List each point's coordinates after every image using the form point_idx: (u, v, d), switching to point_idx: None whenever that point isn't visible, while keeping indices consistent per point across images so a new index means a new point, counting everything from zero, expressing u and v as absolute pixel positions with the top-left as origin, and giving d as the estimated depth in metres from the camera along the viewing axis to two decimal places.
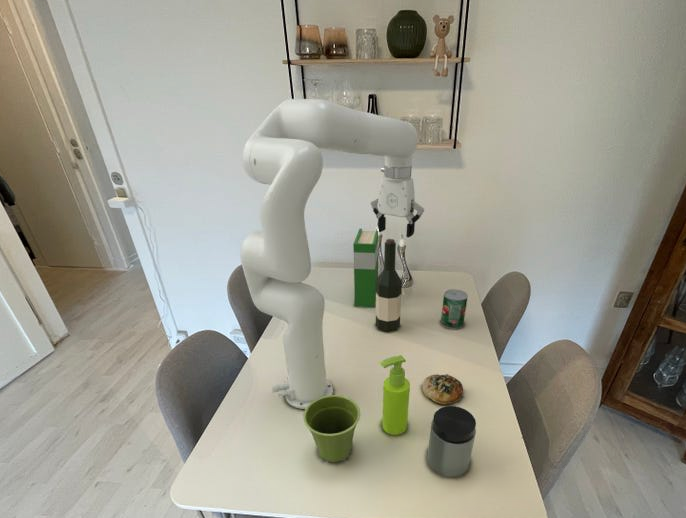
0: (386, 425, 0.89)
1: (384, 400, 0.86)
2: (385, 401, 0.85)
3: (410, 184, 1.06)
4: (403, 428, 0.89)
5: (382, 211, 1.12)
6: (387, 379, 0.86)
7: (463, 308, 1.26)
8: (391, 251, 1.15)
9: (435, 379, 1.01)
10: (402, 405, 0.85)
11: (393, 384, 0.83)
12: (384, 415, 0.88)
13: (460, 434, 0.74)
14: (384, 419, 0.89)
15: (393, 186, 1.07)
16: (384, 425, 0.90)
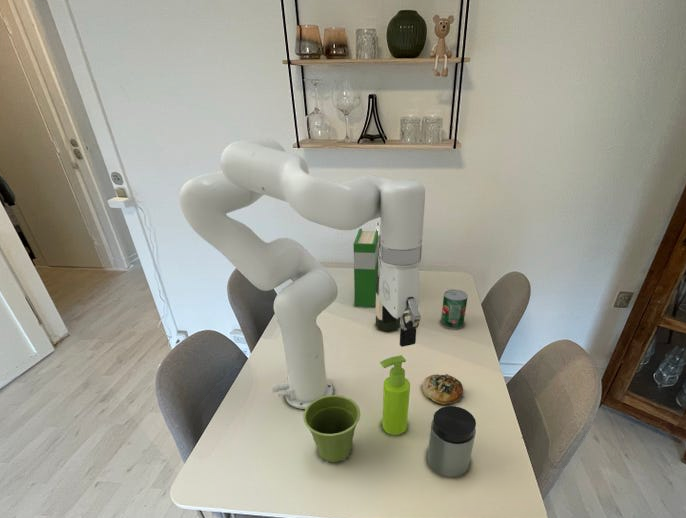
0: (386, 425, 0.89)
1: (384, 400, 0.86)
2: (385, 401, 0.85)
3: (405, 275, 0.67)
4: (403, 428, 0.89)
5: (380, 299, 0.78)
6: (387, 379, 0.86)
7: (463, 308, 1.26)
8: None
9: (435, 379, 1.01)
10: (402, 405, 0.85)
11: (393, 384, 0.83)
12: (384, 415, 0.88)
13: (460, 434, 0.74)
14: (384, 419, 0.89)
15: (387, 271, 0.71)
16: (384, 425, 0.90)
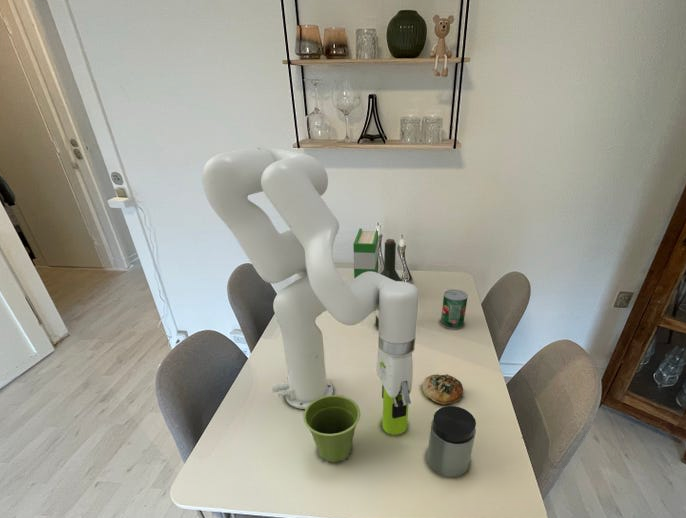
0: (386, 425, 0.89)
1: (384, 400, 0.86)
2: (385, 401, 0.85)
3: (399, 364, 0.76)
4: (403, 428, 0.89)
5: (378, 374, 0.86)
6: None
7: (463, 308, 1.26)
8: (391, 251, 1.15)
9: (435, 379, 1.01)
10: None
11: None
12: (384, 415, 0.88)
13: (460, 434, 0.74)
14: (384, 419, 0.89)
15: (384, 356, 0.79)
16: (384, 425, 0.90)
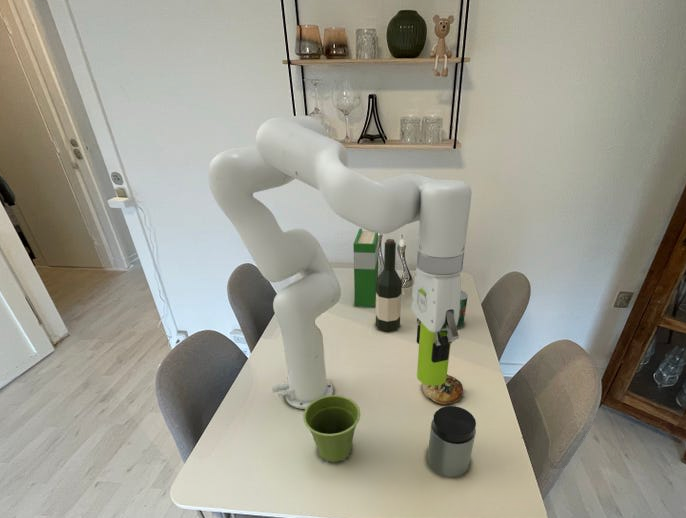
0: (423, 374, 0.74)
1: (421, 341, 0.71)
2: (423, 342, 0.70)
3: (446, 286, 0.61)
4: (443, 377, 0.74)
5: (413, 310, 0.71)
6: None
7: (463, 308, 1.26)
8: (391, 251, 1.15)
9: None
10: None
11: None
12: (420, 361, 0.73)
13: (460, 434, 0.74)
14: (420, 367, 0.74)
15: (424, 280, 0.64)
16: (420, 374, 0.75)
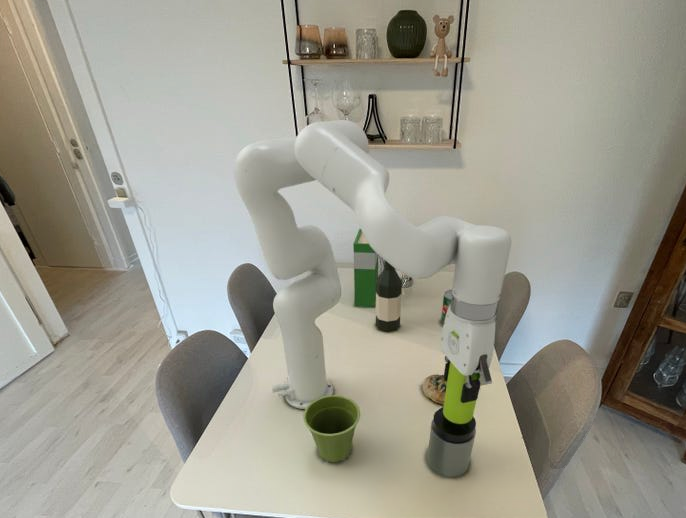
0: (450, 412, 0.73)
1: (450, 381, 0.70)
2: (453, 382, 0.69)
3: (481, 332, 0.60)
4: (470, 416, 0.73)
5: (443, 349, 0.70)
6: None
7: None
8: None
9: (435, 379, 1.01)
10: None
11: None
12: (448, 400, 0.72)
13: (460, 434, 0.74)
14: (448, 405, 0.73)
15: (457, 324, 0.63)
16: (447, 412, 0.74)
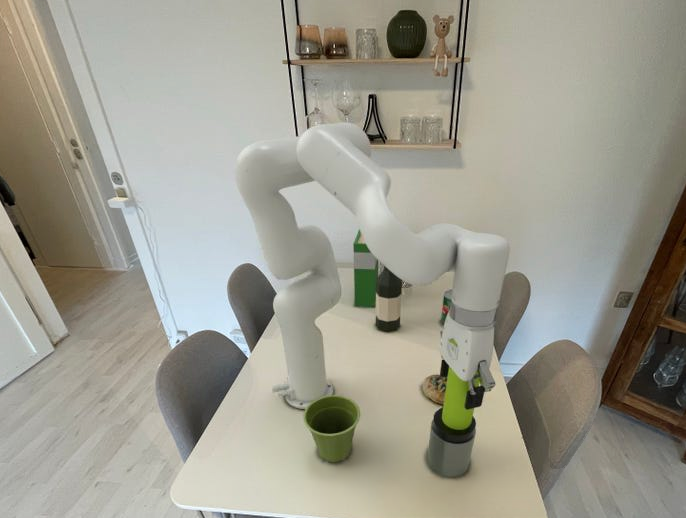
0: (449, 418, 0.74)
1: (449, 387, 0.71)
2: (451, 388, 0.70)
3: (480, 338, 0.61)
4: (469, 422, 0.74)
5: (442, 354, 0.71)
6: None
7: None
8: None
9: (435, 379, 1.01)
10: None
11: None
12: (447, 406, 0.73)
13: (460, 434, 0.74)
14: (446, 411, 0.74)
15: (456, 329, 0.64)
16: (446, 418, 0.75)
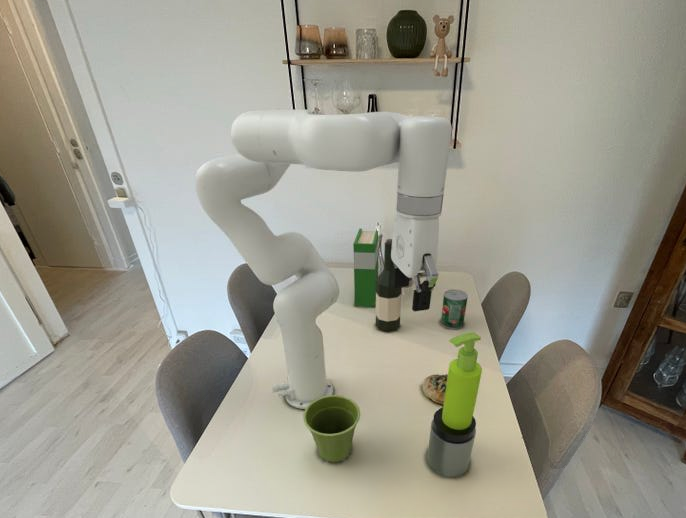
0: (449, 418, 0.74)
1: (449, 387, 0.71)
2: (451, 388, 0.70)
3: (423, 227, 0.60)
4: (469, 422, 0.74)
5: (392, 258, 0.70)
6: (453, 362, 0.71)
7: (463, 308, 1.26)
8: None
9: (435, 379, 1.01)
10: (473, 393, 0.70)
11: (463, 367, 0.68)
12: (447, 406, 0.73)
13: (460, 434, 0.74)
14: (446, 411, 0.74)
15: (402, 223, 0.63)
16: (446, 418, 0.75)
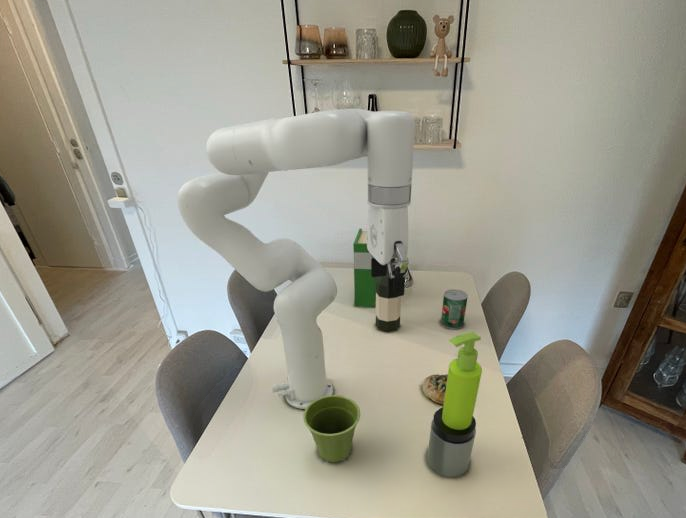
0: (449, 418, 0.74)
1: (449, 387, 0.71)
2: (451, 388, 0.70)
3: (392, 216, 0.63)
4: (469, 422, 0.74)
5: (368, 248, 0.73)
6: (453, 362, 0.71)
7: (463, 308, 1.26)
8: None
9: (435, 379, 1.01)
10: (473, 393, 0.70)
11: (463, 367, 0.68)
12: (447, 406, 0.73)
13: (460, 434, 0.74)
14: (446, 411, 0.74)
15: (374, 213, 0.67)
16: (446, 418, 0.75)
